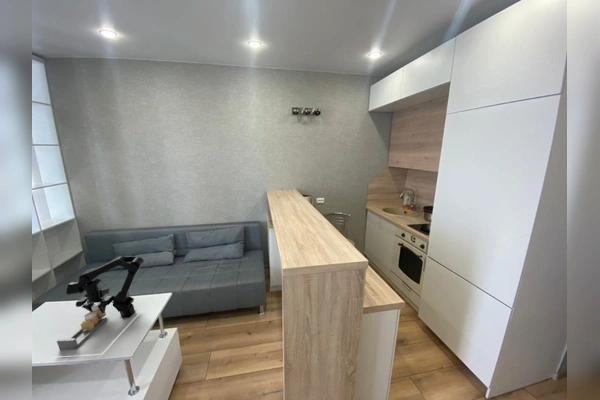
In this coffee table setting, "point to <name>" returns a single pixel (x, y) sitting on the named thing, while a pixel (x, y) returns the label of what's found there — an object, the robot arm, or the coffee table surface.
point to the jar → (98, 310)
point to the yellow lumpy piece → (87, 326)
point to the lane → (78, 337)
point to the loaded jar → (92, 318)
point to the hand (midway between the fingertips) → (99, 312)
